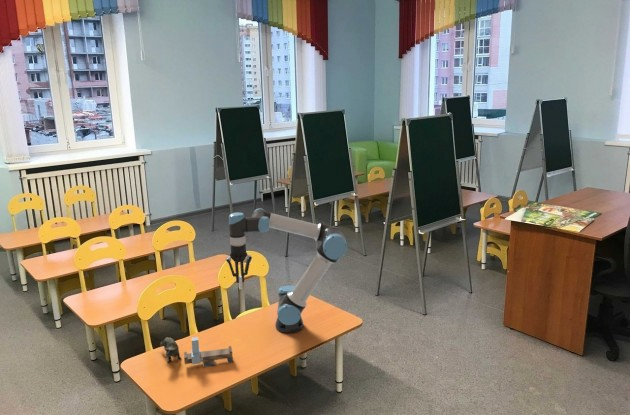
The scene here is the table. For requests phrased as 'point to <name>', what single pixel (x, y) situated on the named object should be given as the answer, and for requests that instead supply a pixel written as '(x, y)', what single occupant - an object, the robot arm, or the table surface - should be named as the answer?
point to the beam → (211, 356)
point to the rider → (195, 351)
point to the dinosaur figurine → (170, 349)
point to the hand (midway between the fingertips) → (240, 288)
